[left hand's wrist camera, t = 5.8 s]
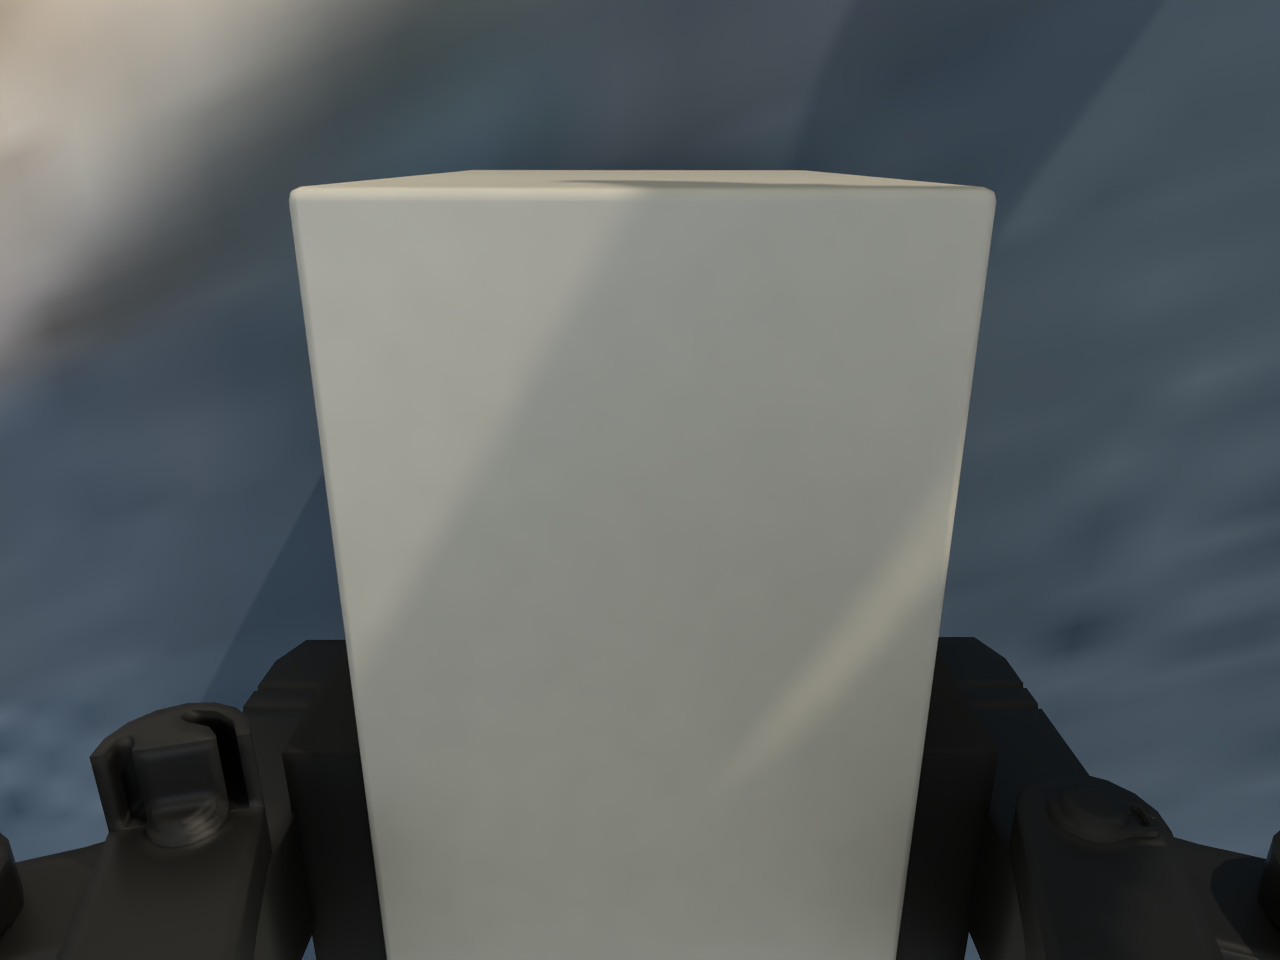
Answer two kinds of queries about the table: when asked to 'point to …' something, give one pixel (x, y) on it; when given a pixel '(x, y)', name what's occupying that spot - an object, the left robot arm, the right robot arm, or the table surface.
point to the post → (641, 545)
